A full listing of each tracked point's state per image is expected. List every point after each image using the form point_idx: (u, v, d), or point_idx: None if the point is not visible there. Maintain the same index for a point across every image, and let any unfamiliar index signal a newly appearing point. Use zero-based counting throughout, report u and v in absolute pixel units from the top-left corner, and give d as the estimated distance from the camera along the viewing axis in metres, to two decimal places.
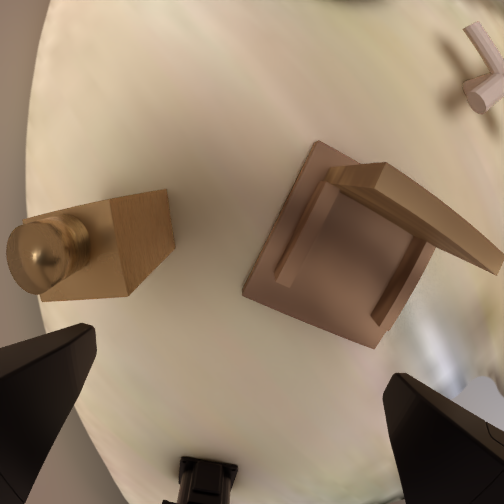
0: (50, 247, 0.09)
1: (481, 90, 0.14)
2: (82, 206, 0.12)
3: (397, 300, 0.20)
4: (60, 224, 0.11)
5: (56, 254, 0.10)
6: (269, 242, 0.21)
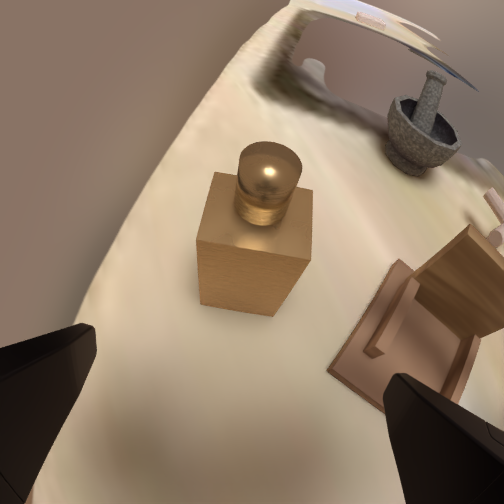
0: (301, 163, 0.13)
1: (498, 228, 0.24)
2: None
3: (460, 380, 0.18)
4: None
5: (301, 171, 0.13)
6: (362, 324, 0.22)
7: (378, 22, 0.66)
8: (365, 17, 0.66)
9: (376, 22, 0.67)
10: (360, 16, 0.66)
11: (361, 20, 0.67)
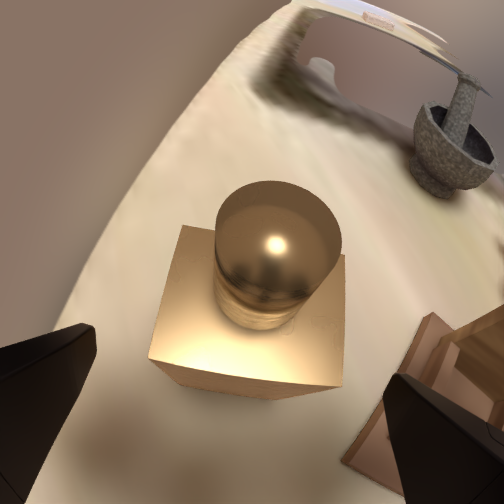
0: None
1: None
2: None
3: None
4: None
5: (338, 244, 0.07)
6: None
7: (386, 22, 0.61)
8: (373, 17, 0.61)
9: (385, 22, 0.61)
10: (368, 16, 0.61)
11: (369, 20, 0.62)
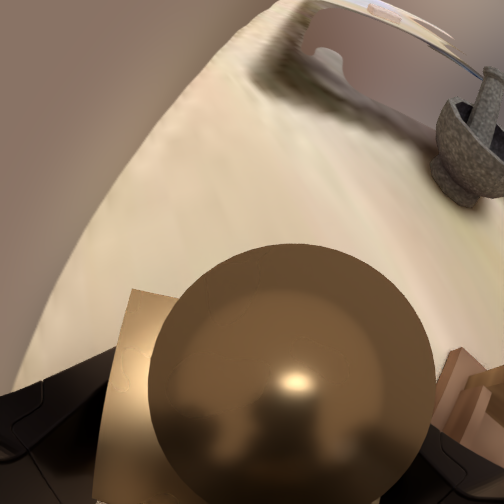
0: (431, 354, 0.03)
1: None
2: None
3: None
4: None
5: (423, 385, 0.03)
6: None
7: (393, 16, 0.57)
8: (380, 10, 0.56)
9: (392, 15, 0.57)
10: (375, 9, 0.56)
11: (376, 13, 0.57)
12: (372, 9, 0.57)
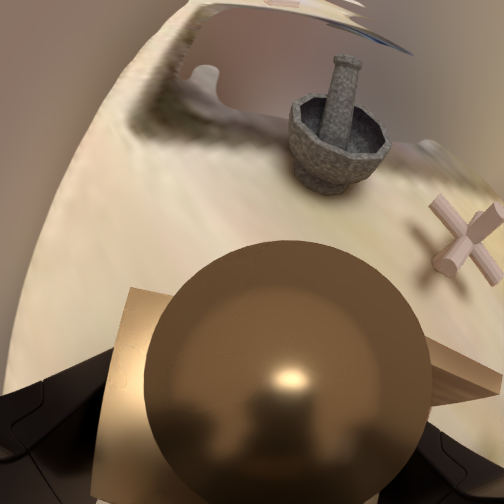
0: (428, 350, 0.03)
1: (450, 254, 0.21)
2: None
3: None
4: None
5: (419, 383, 0.03)
6: None
7: (291, 1, 0.62)
8: None
9: (290, 1, 0.62)
10: None
11: (274, 3, 0.62)
12: (269, 0, 0.62)
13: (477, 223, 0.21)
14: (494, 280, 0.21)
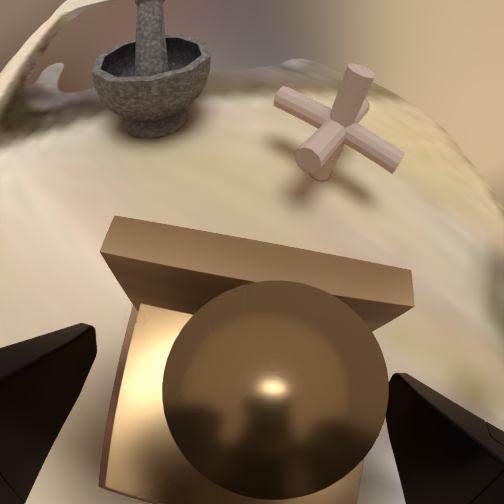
0: (385, 368, 0.04)
1: (306, 142, 0.18)
2: None
3: None
4: None
5: (380, 394, 0.04)
6: (109, 418, 0.13)
7: None
8: None
9: None
10: None
11: None
12: None
13: (337, 98, 0.18)
14: (391, 163, 0.18)
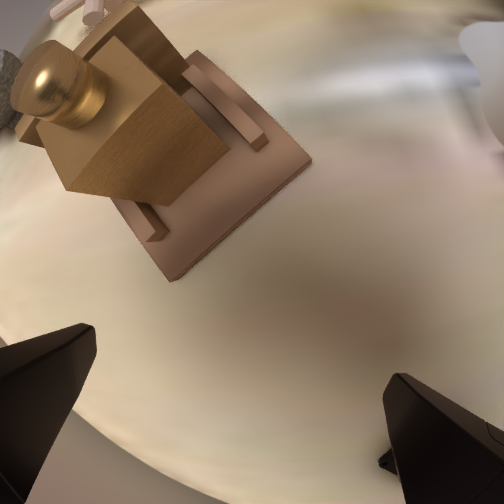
0: (55, 40, 0.07)
1: (83, 14, 0.16)
2: (91, 59, 0.10)
3: (227, 115, 0.16)
4: None
5: (61, 44, 0.07)
6: (134, 232, 0.20)
7: None
8: None
9: None
10: None
11: None
12: None
13: None
14: None
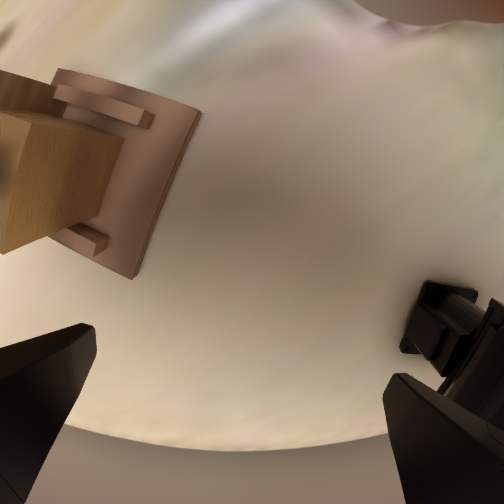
0: None
1: None
2: None
3: (106, 111, 0.15)
4: None
5: None
6: (82, 253, 0.19)
7: None
8: None
9: None
10: None
11: None
12: None
13: None
14: None
